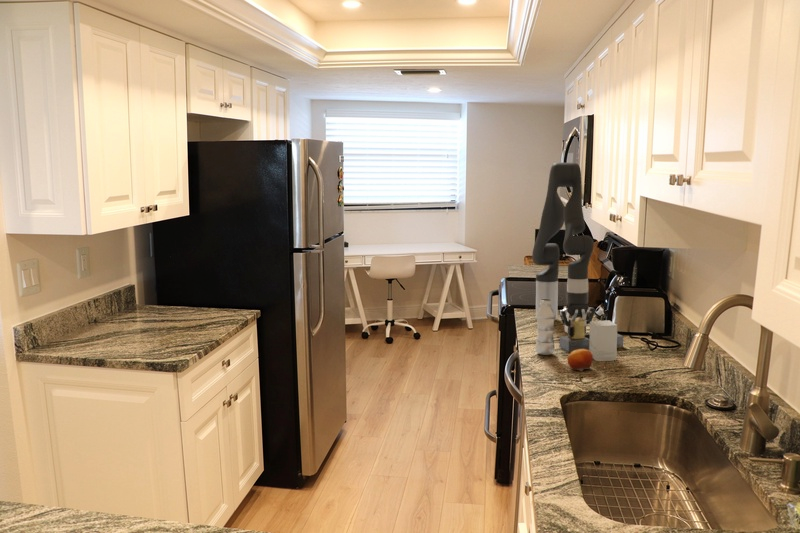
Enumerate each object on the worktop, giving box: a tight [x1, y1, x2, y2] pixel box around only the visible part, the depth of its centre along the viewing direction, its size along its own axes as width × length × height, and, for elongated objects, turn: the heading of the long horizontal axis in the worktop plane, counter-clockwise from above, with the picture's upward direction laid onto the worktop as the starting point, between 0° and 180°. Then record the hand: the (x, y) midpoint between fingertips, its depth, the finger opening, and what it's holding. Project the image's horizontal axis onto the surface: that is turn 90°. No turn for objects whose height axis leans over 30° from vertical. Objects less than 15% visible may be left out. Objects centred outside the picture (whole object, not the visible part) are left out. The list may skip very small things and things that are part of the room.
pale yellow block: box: [568, 318, 585, 340], centre depth 234 cm, size 4×4×8 cm
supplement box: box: [589, 320, 618, 362], centre depth 222 cm, size 7×7×13 cm
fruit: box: [567, 349, 593, 372], centre depth 212 cm, size 8×8×8 cm
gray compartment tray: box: [559, 333, 624, 353], centre depth 236 cm, size 7×22×4 cm, turn 103°
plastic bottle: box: [535, 299, 556, 356], centre depth 228 cm, size 6×7×20 cm
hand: (576, 335), depth 234 cm, fingers closed on pale yellow block, 4 cm apart
